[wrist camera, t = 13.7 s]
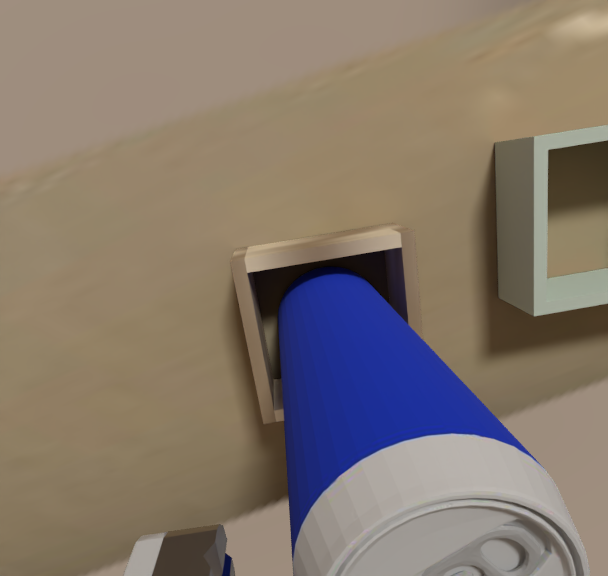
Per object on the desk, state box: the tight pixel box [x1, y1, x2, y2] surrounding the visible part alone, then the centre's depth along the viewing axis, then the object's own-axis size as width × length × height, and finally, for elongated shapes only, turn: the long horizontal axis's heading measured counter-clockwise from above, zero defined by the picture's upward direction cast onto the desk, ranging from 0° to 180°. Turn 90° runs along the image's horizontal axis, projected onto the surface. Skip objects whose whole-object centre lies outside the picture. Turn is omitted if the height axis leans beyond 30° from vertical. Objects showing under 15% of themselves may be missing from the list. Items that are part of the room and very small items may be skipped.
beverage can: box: [278, 267, 590, 576], centre depth 14 cm, size 5×5×15 cm
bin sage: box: [495, 125, 608, 316], centre depth 19 cm, size 8×8×3 cm
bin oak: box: [230, 223, 423, 424], centre depth 20 cm, size 8×8×3 cm
